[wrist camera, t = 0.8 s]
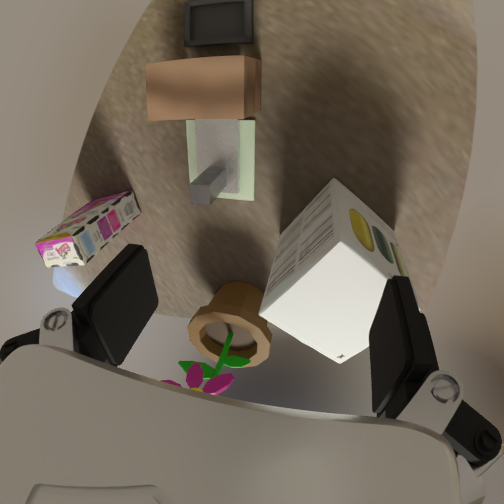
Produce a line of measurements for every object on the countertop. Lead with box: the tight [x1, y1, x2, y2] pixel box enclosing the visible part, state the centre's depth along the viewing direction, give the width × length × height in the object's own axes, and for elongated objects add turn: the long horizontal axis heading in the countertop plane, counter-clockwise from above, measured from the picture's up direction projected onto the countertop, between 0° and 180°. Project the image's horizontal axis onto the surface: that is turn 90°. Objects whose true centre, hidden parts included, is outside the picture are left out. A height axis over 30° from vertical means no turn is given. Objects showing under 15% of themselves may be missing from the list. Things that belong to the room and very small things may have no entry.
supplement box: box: [259, 178, 421, 364], centre depth 37 cm, size 13×13×18 cm
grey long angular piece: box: [189, 119, 240, 205], centre depth 35 cm, size 19×6×8 cm, turn 0°
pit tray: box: [184, 0, 253, 47], centre depth 30 cm, size 7×9×2 cm
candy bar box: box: [35, 190, 141, 267], centre depth 44 cm, size 11×5×16 cm, turn 103°
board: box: [186, 119, 256, 201], centre depth 42 cm, size 12×10×1 cm
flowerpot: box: [162, 281, 272, 395], centre depth 44 cm, size 14×14×30 cm
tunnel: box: [145, 55, 262, 121], centre depth 32 cm, size 7×11×10 cm, turn 90°
